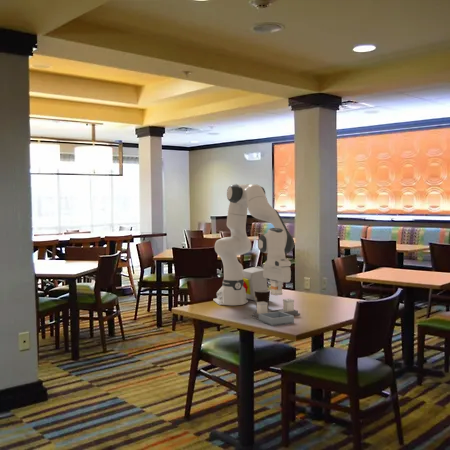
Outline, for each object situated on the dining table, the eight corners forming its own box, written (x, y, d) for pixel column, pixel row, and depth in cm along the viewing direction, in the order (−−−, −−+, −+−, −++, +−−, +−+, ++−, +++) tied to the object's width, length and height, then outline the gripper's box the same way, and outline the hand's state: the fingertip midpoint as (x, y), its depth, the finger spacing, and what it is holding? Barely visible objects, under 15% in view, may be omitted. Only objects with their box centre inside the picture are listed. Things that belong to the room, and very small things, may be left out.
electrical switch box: (236, 301, 326) (232, 269, 324) (257, 296, 332) (253, 265, 330) (247, 305, 312) (243, 272, 310) (269, 300, 319) (265, 267, 317)
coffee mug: (269, 310, 289) (269, 292, 288) (253, 310, 290) (253, 291, 290) (271, 306, 300) (271, 288, 300) (256, 306, 302) (256, 288, 301)
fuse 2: (282, 312, 280) (282, 299, 280) (289, 311, 282) (289, 298, 282) (287, 314, 276) (287, 300, 276) (294, 313, 278) (294, 299, 278)
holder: (250, 316, 274) (250, 312, 273) (291, 312, 285) (291, 307, 285) (258, 319, 266) (258, 315, 266) (300, 314, 277) (300, 310, 277)
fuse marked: (270, 294, 262) (270, 280, 262) (277, 293, 264) (277, 279, 264) (275, 295, 258) (274, 281, 258) (282, 294, 260) (282, 280, 260)
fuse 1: (256, 315, 273) (256, 302, 273) (263, 314, 275) (263, 301, 274) (260, 317, 269) (260, 303, 269) (267, 316, 271) (267, 302, 271)
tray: (258, 320, 265) (258, 313, 264) (280, 318, 270) (280, 311, 270) (271, 326, 253) (271, 318, 253) (294, 323, 259) (294, 316, 259)
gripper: (260, 259, 268) (260, 286, 269) (281, 263, 250) (282, 292, 250) (270, 258, 271) (270, 285, 272) (293, 262, 253) (293, 291, 253)
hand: (276, 289), depth 261 cm, fingers closed on fuse marked, 4 cm apart
